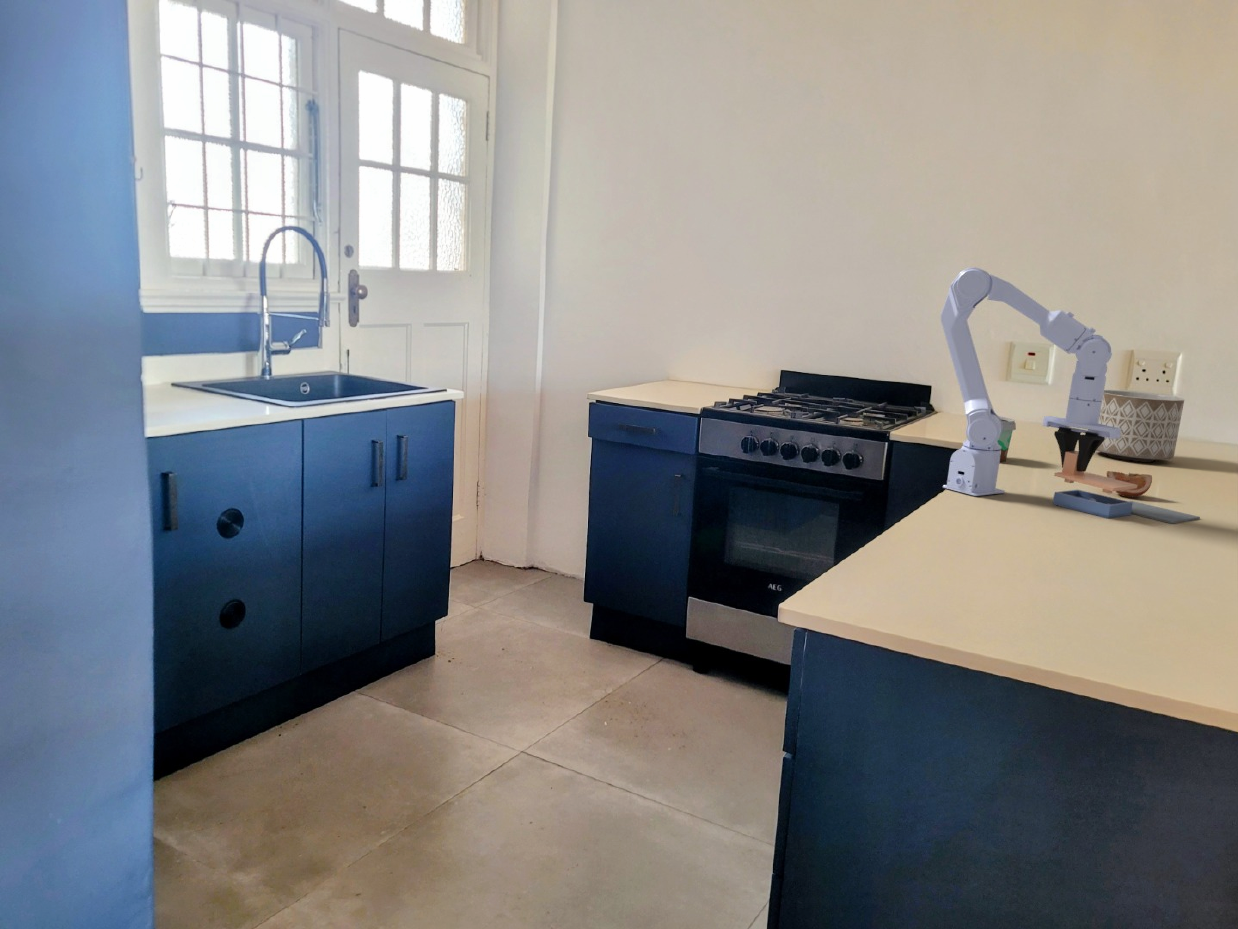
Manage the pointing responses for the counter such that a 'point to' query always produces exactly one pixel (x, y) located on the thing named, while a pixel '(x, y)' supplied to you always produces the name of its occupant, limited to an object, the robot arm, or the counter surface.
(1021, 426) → the counter surface
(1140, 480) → the fruit slice
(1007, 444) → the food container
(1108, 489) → the lid
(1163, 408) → the planter
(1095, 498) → the blue box
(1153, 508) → the mat
